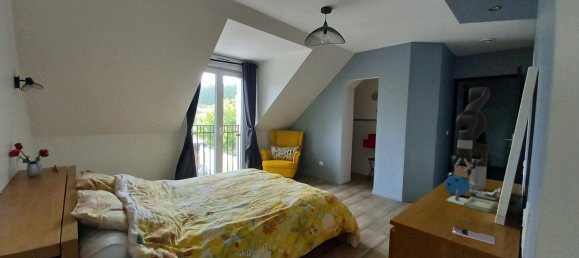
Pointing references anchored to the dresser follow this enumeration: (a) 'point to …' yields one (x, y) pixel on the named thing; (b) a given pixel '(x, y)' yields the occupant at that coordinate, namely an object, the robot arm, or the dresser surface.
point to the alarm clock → (457, 184)
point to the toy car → (484, 195)
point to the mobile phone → (474, 235)
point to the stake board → (461, 200)
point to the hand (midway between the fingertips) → (462, 173)
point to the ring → (461, 171)
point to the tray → (479, 204)
